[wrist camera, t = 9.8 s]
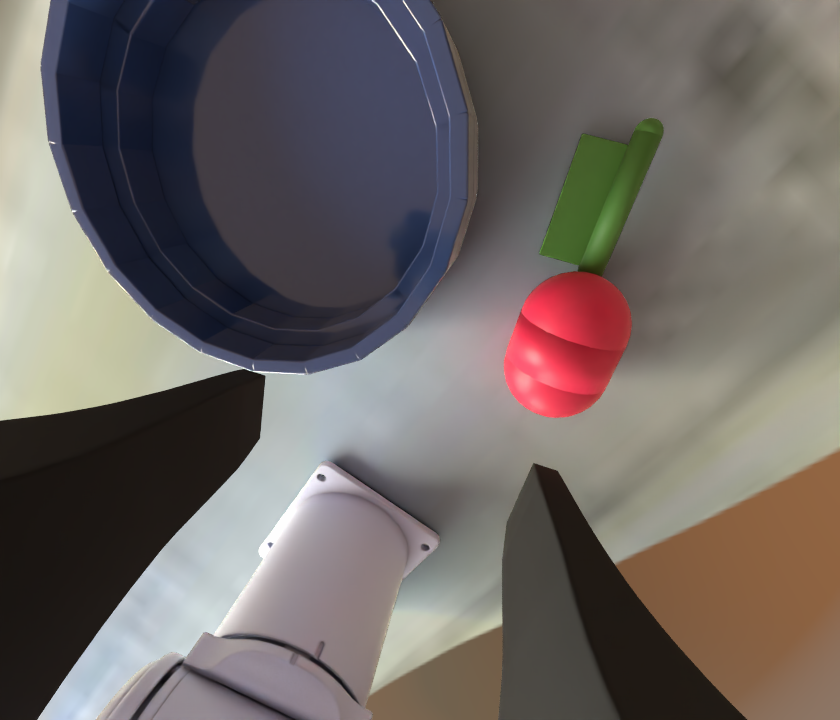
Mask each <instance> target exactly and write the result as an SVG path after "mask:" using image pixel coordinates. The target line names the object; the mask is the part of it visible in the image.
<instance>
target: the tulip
mask: <svg viewBox="0 0 840 720" xmlns="http://www.w3.org/2000/svg"><path fill="white" fill-rule="evenodd" d="M663 133H664V127H663V124H662V123H661V122H660V121H659V120H658V119H655V118H648V119H645V120H643V121H641V122H640V123H639V124H638V125H637V126H636V128H635V130H634V132H633V134H632V137H631V139H630V142H629V144H628V145H627V144H623V143H619V142H615V141H611V140H607V139H603V138H599V137H595V136H591V135H587V134H582V135H581V138H580V141H579V144H578V146H577V149H576V152H575V155H574V158H573V160H572V163H571V166H570V169H569V172H568V174H567V177H566V180H565V183H564V186H563V188H562V191H561V194H560V197H559V199H558V202H557V205H556V208H555V211H554V213H553V216H552V219H551V222H550V225H549V227H548V230H547V233H546V236H545V239H544V241H543V244H542V247H541V250H540V253H539V254H540V255H544V256H547V257H551V258H554V259H558V260H561V261H565V262H568V263H572V264H576V265H579V268H578V272H576V271H573V272H567V273H561V274H558V275H555V276H553V277H551V278H549V279H547V280H546V281H544V282H542V283H541V284H540V285H538V286H537V287H536V288H535V289H534V290H533V291H532V292H531V294H530V295H529V296H528V298H527V299H526V301H525V303H524V305H523V307H522V309H521V312H520V315H519V318H518V320H517V323H516V326H515V329H514V331H513V334H512V337H511V340H510V343H509V345H508V348H507V352H506V356H505V360H504V372H505V378H506V382H507V384H508V387H509V389H510V391H511V393H512V394H513V395H514V397H515V398H516V399H517V400H518V402H519V403H521V404H522V405H523V406H524V407H526V408H527V409H529V410H531V411H532V412H534V413H537V414H539V415H543V416H547V417H552V418H559V417H569V416H572V415H575V414H578V413H581V412H583V411H584V410H586V409H588V408H589V407H591V406H592V405H593V404H594V403H595V402H596V401H597V400H598V399H599V398H600V397H601V395H602V394H603V392H604V391H605V389H606V387H607V385H608V383H609V381H610V379H611V377H612V375H613V373H614V371H615V369H616V367H617V365H618V362H619V360H620V358H621V356H622V354H623V352H624V350H625V348H626V346H627V343H628V341H629V338H630V334H631V327H632V320H631V312H630V309H629V306H628V303H627V301H626V300H625V298H624V296H623V295H622V293H621V292H620V291H619V290H618V289H617V288H616V287H615V285H613V284H612V283H611V282H609V281H608V280H606V279H605V278H603V277H602V275H603V273H604V271H605V268H606V266H607V264H608V261H609V259H610V257H611V254H612V252H613V250H614V248H615V245H616V243H617V241H618V238H619V236H620V234H621V231H622V229H623V227H624V224H625V222H626V220H627V217H628V215H629V213H630V211H631V208H632V206H633V204H634V201H635V199H636V197H637V194H638V192H639V190H640V187H641V185H642V183H643V180H644V178H645V176H646V174H647V171H648V169H649V167H650V164H651V162H652V160H653V157H654V155H655V153H656V150H657V148H658V146H659V143H660V141H661V139H662V136H663Z"/></svg>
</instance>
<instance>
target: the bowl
mask: <svg viewBox="0 0 840 720" xmlns="http://www.w3.org/2000/svg"><path fill="white" fill-rule="evenodd" d="M41 76H42V86H43V96H44V105H45V115H46V125H47V135H48V142H50V143H49V145H50V148H51V151H52V154H53V157H54V160H55V163H56V166H57V169H58V172H59V175H60V178H61V181H62V184H63V187H64V190H65V193H66V196H67V199H68V202H69V205H70V208H71V210H72V211H73V215H74V216H75V218H76V220H77V221H78V223H79V225H80V226H81V228H82V230H83V232H84V233H85V235H86V237H87V238H88V240H89V242H90V243H91V245H92V247H93V248H94V250H95V252H96V253H97V255H98V257H99V259H100V260H101V262H102V264H103V265H104V267H105V269H106V270H107V271H108V273H109V274H110V275H111V276H112V277H113V278H114V280H115V281H116V282H117V283H118V284H119V285H120V286H121V287H122V288H123V289H124V290H125V291H126V293H127V294H128V295H129V296H130V297H131V298H132V299H133V300H134V301H135V302H136V303H137V304H138V305H139V307H140V308H141V309H142V310H143V311H144V312H145V313H146V314H147V315H148V316H149V317H150V318H151V319H152V320H153V321H154V322H156V323H157V324H159V325H160V326H162V327H163V328H165V329H166V330H168V331H169V332H170V333H172V334H173V335H175V336H176V337H178V338H179V339H181V340H182V341H184V342H185V343H187V344H188V345H190V346H191V347H192V348H194V349H195V350H197V351H198V352H201V353H203V354H205V355H208V356H211V357H214V358H217V359H219V360H222V361H225V362H228V363H230V364H233V365H236V366H239V367H242V368H244V369H247V370H250V371H254V372H267V373H285V374H304V375H307V374H312V373H316V372H320V371H323V370H327V369H330V368H334V367H338V366H341V365H345V364H349V363H352V362H356V361H359V360H362V359H363V358H365V357H366V356H367V355H369V354H370V353H372V352H373V351H374V350H376V349H377V348H379V347H380V346H382V345H383V344H384V343H386V342H387V341H389V340H390V339H391V338H393V337H394V336H396V335H397V334H399V333H400V332H401V331H403V330H404V329H406V328H407V327H408V325H410V323H411V322H412V321H413V319H414V318H415V316H416V315H417V314H418V312H419V311H420V309H421V308H422V307H423V305H424V304H425V302H426V301H427V300H428V298H429V297H430V295H431V294H432V292H433V291H434V290H435V288H436V287H437V285H438V284H439V283H440V281H441V280H442V278H443V277H444V276H445V274H446V273H447V271H448V270H449V268H450V267H451V266H452V264H453V263H454V261H455V260H456V259H457V257H458V255H459V253H460V249H461V246H462V243H463V240H464V237H465V233H466V230H467V227H468V224H469V221H470V218H471V214H472V211H473V208H474V205H475V202H476V198H477V195H476V194H477V193H478V124H477V122H478V120H477V116H476V113H475V109H474V106H473V102H472V99H471V95H470V92H469V88H468V85H467V81H466V77H465V74H464V70H463V67H462V63H461V60H460V56H459V53H458V51H457V49H456V46H455V44H454V42H453V40H452V38H451V36H450V33H449V31H448V29H447V27H446V25H445V23H444V21H443V19H442V17H441V16H440V14H439V12H438V11H437V9H436V8H435V6H434V5H433V3H432V2H431V0H51V2H50V8H49V14H48V21H47V27H46V33H45V40H44V46H43V52H42V59H41Z"/></svg>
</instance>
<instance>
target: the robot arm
mask: <svg viewBox="0 0 840 720" xmlns="http://www.w3.org/2000/svg"><path fill="white" fill-rule="evenodd" d="M264 386H265V376H264V375H261V374H258V373H255V372H252V371H249V370H246V369H242V370H237V371H232V372H229V373H225V374H221V375H218V376H214V377H211V378H207V379H204V380H200V381H197V382H193V383H190V384H186V385H183V386H179V387H176V388H172V389H169V390H165V391H161V392H157V393H153V394H149V395H145V396H141V397H137V398H133V399H129V400H125V401H121V402H117V403H112V404H108V405H103V406H98V407H93V408H87V409H82V410H76V411H70V412H64V413H58V414H52V415H44V416H36V417H28V418H19V419H11V420H3V421H0V720H37V719H38V718H39V716H40V715H41V713H42V712H43V710H44V709H45V707H46V706H47V704H48V703H49V701H50V700H51V698H52V697H53V695H54V694H55V692H56V691H57V689H58V688H59V686H60V685H61V683H62V682H63V680H64V679H65V678H66V676H67V675H68V673H69V672H70V671H71V669H72V668H73V666H74V665H75V664H76V662H77V661H78V659H79V658H80V657H81V655H82V654H83V652H84V651H85V650H86V648H87V647H88V645H89V644H90V643H91V641H92V640H93V638H94V637H95V636H96V634H97V633H98V631H99V630H100V629H101V627H102V626H103V625H104V623H105V622H106V621H107V619H108V618H109V617H110V615H111V614H112V613H113V611H114V610H115V609H116V607H117V606H118V605H119V603H120V602H121V601H122V599H123V598H124V597H125V595H126V594H127V593H128V591H129V590H130V589H131V587H132V586H133V585H134V584H135V582H136V581H137V580H138V579H139V577H140V576H141V575H142V573H143V572H144V571H145V570H146V568H147V567H148V566H149V565H150V563H151V562H152V561H153V560H154V558H155V557H156V556H157V555H158V553H159V552H160V551H161V550H162V548H163V547H164V546H165V545H166V544H167V543H168V542H169V541H170V539H171V538H172V537H173V536H174V535H175V534H176V533H177V532H178V531H179V530H180V529H181V528H182V527H183V526H184V524H185V523H186V522H187V521H188V520H189V519H190V518H191V517H192V516H193V515H194V514H195V513H196V512H197V511H198V510H199V509H200V508H201V507H202V506H203V505H204V504H205V503H206V502H207V501H208V500H209V499H210V497H211V496H212V495H213V494H214V493H215V492H216V491H217V490H218V489H219V488H220V487H221V486H222V485H223V484H224V483H225V482H226V481H227V480H228V479H229V477H230V476H231V475H232V474H233V473H234V472H235V471H236V470H237V469H238V468H239V466H240V465H241V464H242V462H243V461H244V460H245V458H246V457H247V456H248V454H249V453H250V452H251V450H252V449H253V447H254V446H255V444H256V443H257V442H258V440H259V439H260V431H261V420H262V409H263V398H264ZM321 474H323V475H325V476H326V477H323V476H322V475H321ZM439 542H440V537H439V535H438V534H437V533H435V532H434V531H432V530H431V529H429V528H428V527H426V526H425V525H423V524H422V523H421V522H419V521H418V520H416V519H415V518H413V517H412V516H410V515H409V514H407V513H406V512H404V511H403V510H401V509H400V508H398V507H397V506H395V505H394V504H392V503H391V502H390V501H388V500H387V499H385V498H384V497H382V496H381V495H379V494H378V493H376V492H375V491H373V490H372V489H370V488H369V487H367V486H366V485H364V484H363V483H362V482H360V481H359V480H357V479H356V478H354V477H353V476H351V475H350V474H348V473H347V472H345V471H344V470H342V469H341V468H339V467H338V466H336V465H335V464H333V463H332V462H330V461H323V462H322V463H321V464H320V465H319V466H318V468H317V469H316V471H315V472H314V473H313V475H312V476H311V477H310V479H309V480H308V482H307V483H306V484H305V486H304V487H303V489H302V490H301V491H300V493H299V494H298V495H297V497H296V498H295V500H294V501H293V502H292V504H291V505H290V507H289V508H288V509H287V511H286V512H285V514H284V515H283V516H282V518H281V519H280V520H279V522H278V523H277V525H276V526H275V527H274V529H273V530H272V532H271V533H270V534H269V536H268V537H267V538H266V540H265V541H264V543H263V544H262V545H261V547H260V548H259V554H260V556H262V557H263V558H264V559H263V561H262V562H261V564H260V565H259V567H258V568H257V570H256V571H255V573H254V574H253V576H252V577H251V579H250V580H249V582H248V583H247V585H246V587H245V588H244V590H243V591H242V593H241V594H240V596H239V597H238V599H237V600H236V602H235V603H234V605H233V606H232V608H231V609H230V611H229V612H228V614H227V615H226V617H225V618H224V620H223V621H222V623H221V624H220V626H219V627H218V629H217V631H216V632H215V634H214V635H212V634H209V633H207V632H205V633H203V634H202V635H201V637H200V638H199V640H198V641H197V643H196V644H195V646H194V647H193V648H192V650H191V651H190V653H189V654H188V656H187V657H185V656H183V655H181V654H179V653H175V652H171V653H169V654H166V655H164V656H163V657H162V658H160V659H158V660H156V661H154V662H152V663H149V664H147V665H146V666H144V667H143V668H141V669H140V670H139V671H138V672H137V673H136V674H135V675H133V676H132V677H131V678H130V679H129V680H128V682H127V683H126V684H125V685H124V686H123V687H122V688H121V689H120V690H119V691H118V693H117V694H116V695H115V696H114V697H113V699H112V700H111V701H110V702H109V703H108V705H107V706H106V707H105V708H104V710H103V711H102V712H101V713H100V715H99V716H98V717H97V719H96V720H372V716H373V714H372V712H371V711H369V710H367V709H365V706H366V703H367V699H368V696H369V692H370V689H371V686H372V682H373V679H374V675H375V672H376V668H377V665H378V661H379V658H380V654H381V651H382V647H383V644H384V640H385V637H386V633H387V630H388V626H389V623H390V619H391V616H392V612H393V609H394V605H395V602H396V598H397V595H398V591H399V588H400V584H401V581H402V580H403V579H404V578H405V577H406V576H407V575H408V574H409V573H410V572H412V571H413V570H414V569H415V568H416V567H417V566H418V565H419V564H420V563H421V562H422V561H423V560H424V559H425V558H426V557H427V556H428V555H430V554H431V553H432V552H433V551H434V550H435V549H436V548H437V547H438V545H439ZM424 544H427V545H424ZM502 616H503V663H502V684H501V695H500V707H499V719H498V720H747V719H746V718H745V717H744V716H743V715H742V714H741V713H740V712H739V711H738V710H737V709H736V708H735V707H734V706H733V705H732V704H731V703H730V702H729V701H728V700H727V699H726V698H725V697H724V696H723V695H722V694H721V693H720V692H719V690H717V689H716V687H715V686H714V685H713V684H712V683H711V682H710V681H709V680H708V679H707V678H706V677H705V676H704V675H703V673H702V672H701V671H700V670H699V669H698V668H697V667H696V666H695V665H694V663H693V662H692V661H691V660H690V659H689V658H688V657H687V656H686V655H685V654H684V652H683V651H682V650H681V649H680V648H679V647H678V646H677V644H676V643H675V642H674V641H673V640H672V639H671V637H670V636H669V635H668V634H667V633H666V632H665V630H664V629H663V628H662V627H661V626H660V624H659V623H658V622H657V621H656V619H655V618H654V617H653V616H652V614H651V613H650V612H649V611H648V609H647V608H646V607H645V606H644V604H643V603H642V602H641V600H640V599H639V598H638V597H637V595H636V594H635V593H634V591H633V590H632V589H631V587H630V586H629V584H628V583H627V582H626V581H625V579H624V577H623V576H622V575H621V573H620V572H619V570H618V569H617V567H616V566H615V564H614V563H613V562H612V560H611V559H610V557H609V556H608V554H607V553H606V551H605V550H604V548H603V546H602V545H601V543H600V542H599V540H598V539H597V537H596V535H595V534H594V532H593V531H592V529H591V527H590V526H589V524H588V522H587V521H586V519H585V517H584V516H583V514H582V512H581V511H580V509H579V507H578V505H577V504H576V502H575V500H574V498H573V497H572V495H571V493H570V491H569V490H568V488H567V486H566V484H565V483H564V481H563V479H562V477H561V476H560V474H559V472H558V471H556V470H553V469H550V468H547V467H544V466H541V465H538V464H535V463H533V465H532V467H531V470H530V472H529V474H528V476H527V478H526V481H525V483H524V485H523V487H522V490H521V492H520V494H519V496H518V499H517V501H516V503H515V505H514V507H513V510H512V512H511V514H510V516H509V519H508V521H507V525H506V533H505V541H504V550H503V559H502Z"/></svg>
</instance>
